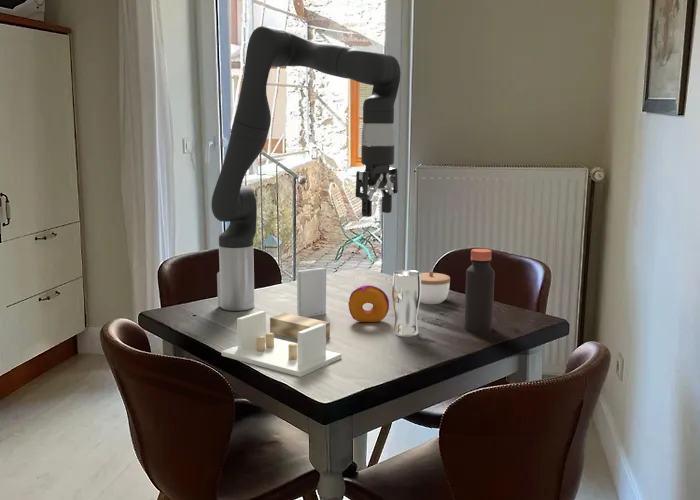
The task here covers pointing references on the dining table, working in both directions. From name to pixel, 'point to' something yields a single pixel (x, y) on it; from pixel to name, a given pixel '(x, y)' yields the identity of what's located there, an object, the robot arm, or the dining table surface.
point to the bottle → (479, 292)
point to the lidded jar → (434, 287)
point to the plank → (294, 325)
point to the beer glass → (406, 301)
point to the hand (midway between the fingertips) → (376, 214)
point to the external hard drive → (311, 292)
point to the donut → (368, 296)
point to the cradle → (280, 347)
